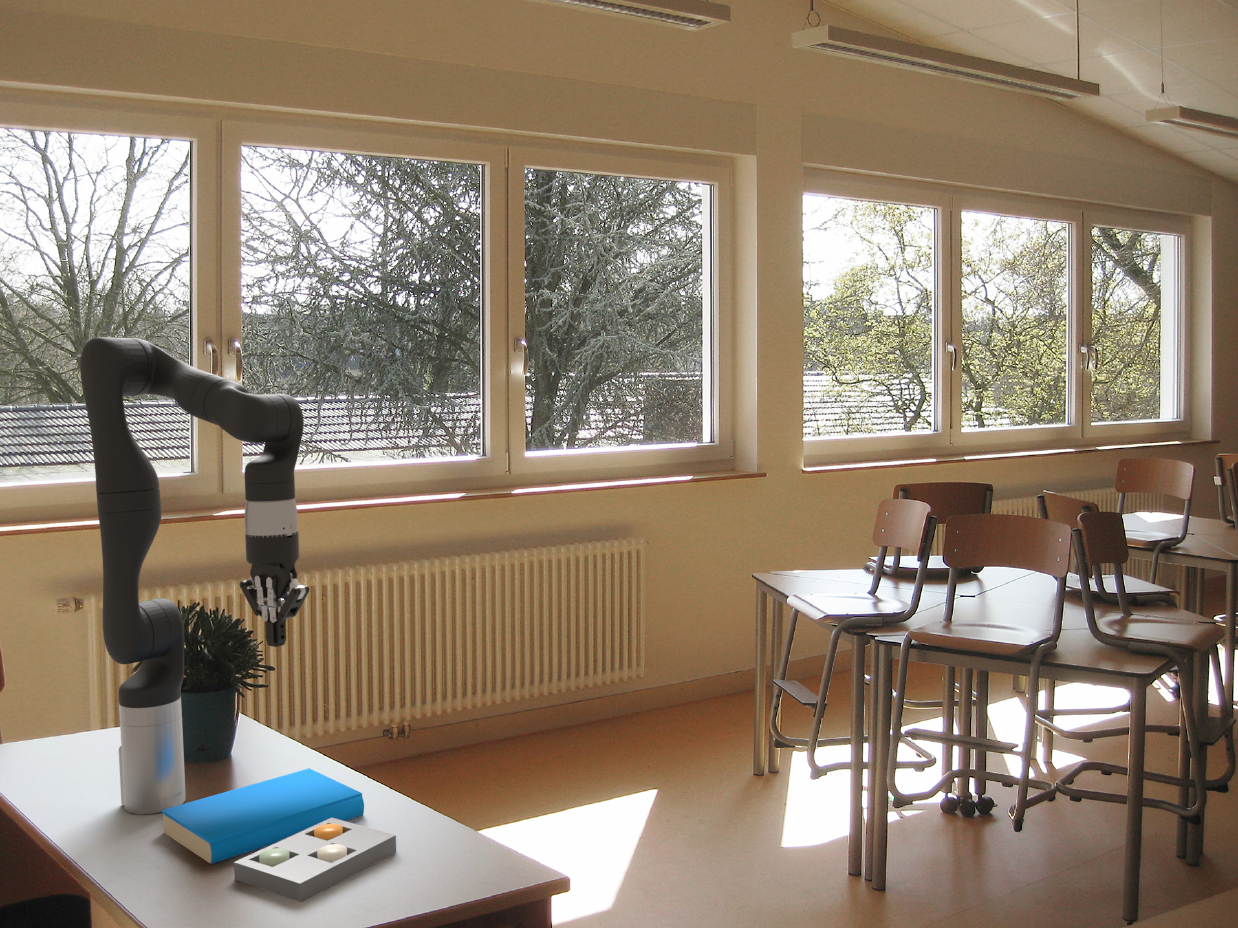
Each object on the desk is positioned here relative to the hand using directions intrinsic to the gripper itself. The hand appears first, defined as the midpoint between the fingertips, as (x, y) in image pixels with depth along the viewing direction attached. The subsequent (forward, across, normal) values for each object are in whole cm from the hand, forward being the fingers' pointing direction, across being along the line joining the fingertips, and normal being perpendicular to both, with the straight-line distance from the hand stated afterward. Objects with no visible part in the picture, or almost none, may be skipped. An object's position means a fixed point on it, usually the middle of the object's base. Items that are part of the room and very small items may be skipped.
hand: (276, 645), depth 169 cm
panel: (+29, +12, -5) cm, 32 cm away
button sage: (+29, +10, -10) cm, 32 cm away
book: (+30, -6, +2) cm, 30 cm away
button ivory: (+29, +16, -5) cm, 33 cm away
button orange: (+29, +9, 0) cm, 30 cm away
